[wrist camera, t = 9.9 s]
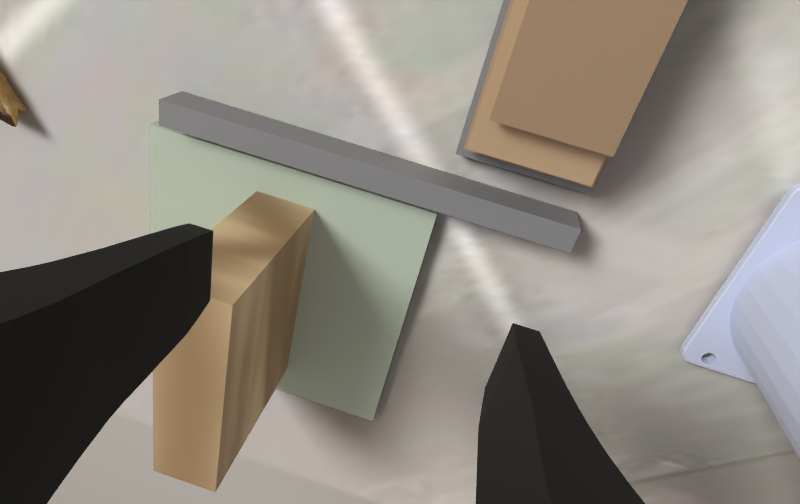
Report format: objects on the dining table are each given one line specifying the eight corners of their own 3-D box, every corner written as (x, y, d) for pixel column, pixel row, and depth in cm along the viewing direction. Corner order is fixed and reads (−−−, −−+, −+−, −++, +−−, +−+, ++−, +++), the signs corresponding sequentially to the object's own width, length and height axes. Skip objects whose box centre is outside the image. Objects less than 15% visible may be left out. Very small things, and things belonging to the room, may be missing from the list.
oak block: (314, 209, 21) (232, 305, 15) (286, 368, 26) (215, 492, 20) (256, 191, 21) (152, 278, 15) (239, 353, 26) (153, 470, 20)
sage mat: (439, 208, 21) (437, 214, 20) (375, 412, 27) (372, 421, 26) (158, 120, 21) (149, 124, 21) (158, 340, 27) (151, 347, 27)
